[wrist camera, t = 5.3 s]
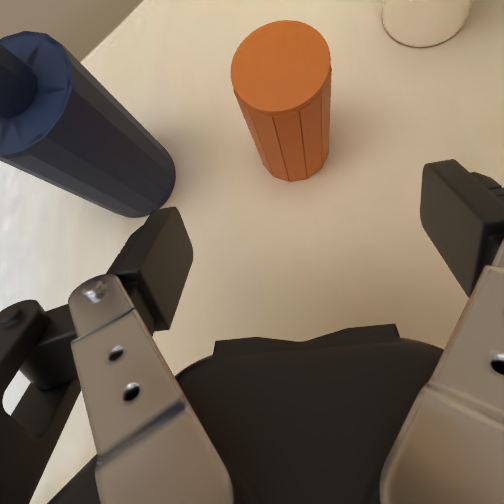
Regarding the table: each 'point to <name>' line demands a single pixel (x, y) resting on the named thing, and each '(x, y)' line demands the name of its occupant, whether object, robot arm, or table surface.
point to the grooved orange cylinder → (285, 96)
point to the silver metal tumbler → (424, 20)
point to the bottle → (76, 130)
